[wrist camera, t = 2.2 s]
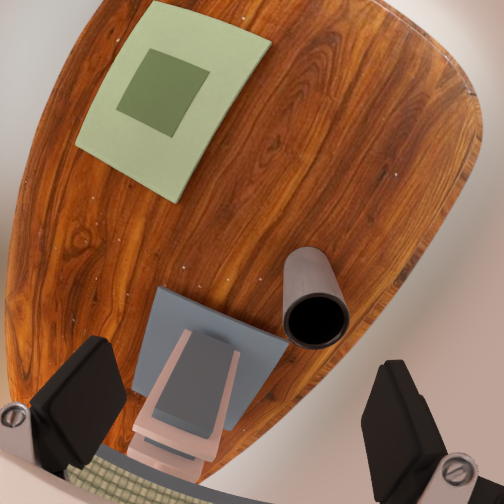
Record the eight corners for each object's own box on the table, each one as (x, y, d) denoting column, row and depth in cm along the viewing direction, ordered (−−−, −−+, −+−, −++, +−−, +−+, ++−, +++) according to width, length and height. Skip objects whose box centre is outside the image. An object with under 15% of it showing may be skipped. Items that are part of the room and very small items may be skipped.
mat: (155, 2, 22) (153, 0, 21) (272, 44, 23) (271, 41, 22) (77, 144, 27) (74, 144, 27) (177, 203, 28) (175, 204, 28)
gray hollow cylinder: (304, 298, 30) (311, 361, 20) (273, 267, 29) (268, 321, 19) (338, 269, 29) (362, 324, 19) (309, 236, 28) (322, 278, 18)
